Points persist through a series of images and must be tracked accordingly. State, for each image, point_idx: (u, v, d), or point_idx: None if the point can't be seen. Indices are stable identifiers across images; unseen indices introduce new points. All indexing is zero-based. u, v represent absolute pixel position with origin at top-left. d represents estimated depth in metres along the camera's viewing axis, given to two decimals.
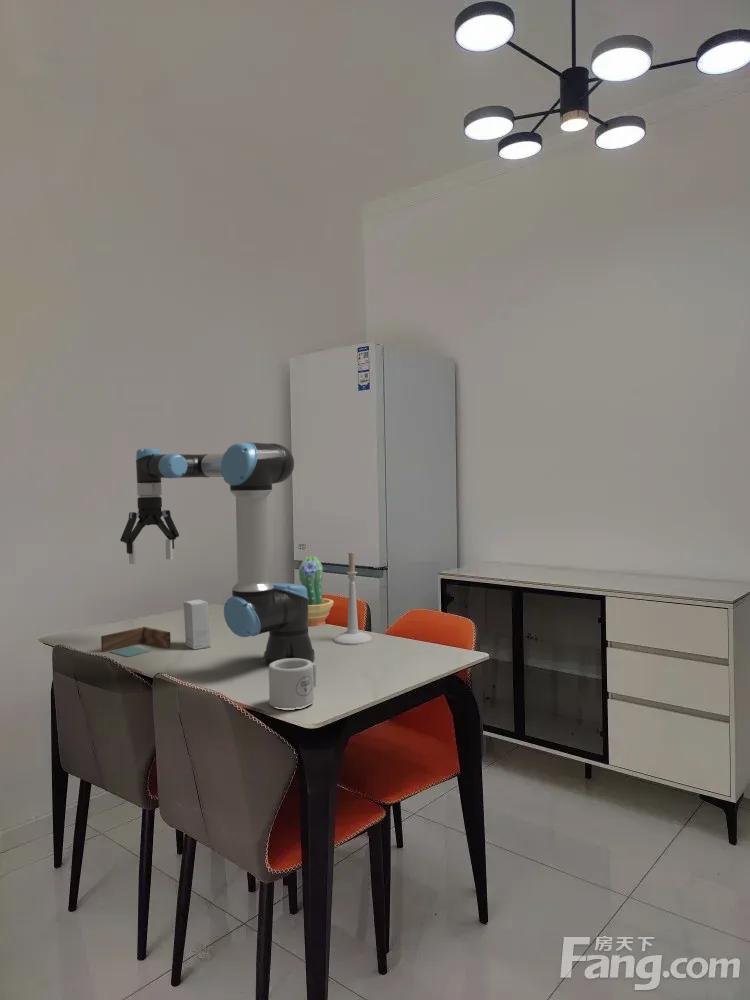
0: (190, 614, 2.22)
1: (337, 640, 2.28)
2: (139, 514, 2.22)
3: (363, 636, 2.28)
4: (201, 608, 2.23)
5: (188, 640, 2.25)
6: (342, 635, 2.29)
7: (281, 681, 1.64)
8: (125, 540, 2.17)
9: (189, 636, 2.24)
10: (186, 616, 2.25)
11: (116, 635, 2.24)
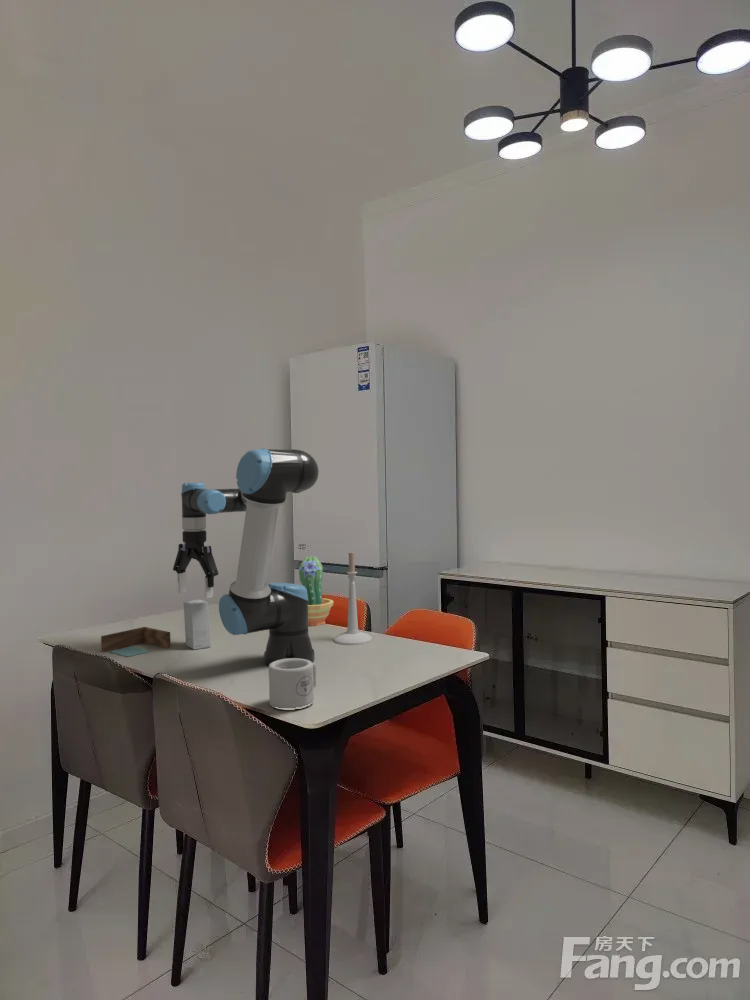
0: (190, 614, 2.22)
1: (337, 640, 2.28)
2: (184, 546, 2.27)
3: (363, 636, 2.28)
4: (201, 608, 2.23)
5: (188, 640, 2.25)
6: (342, 635, 2.29)
7: (281, 681, 1.64)
8: (173, 569, 2.30)
9: (189, 636, 2.24)
10: (186, 616, 2.25)
11: (116, 635, 2.24)
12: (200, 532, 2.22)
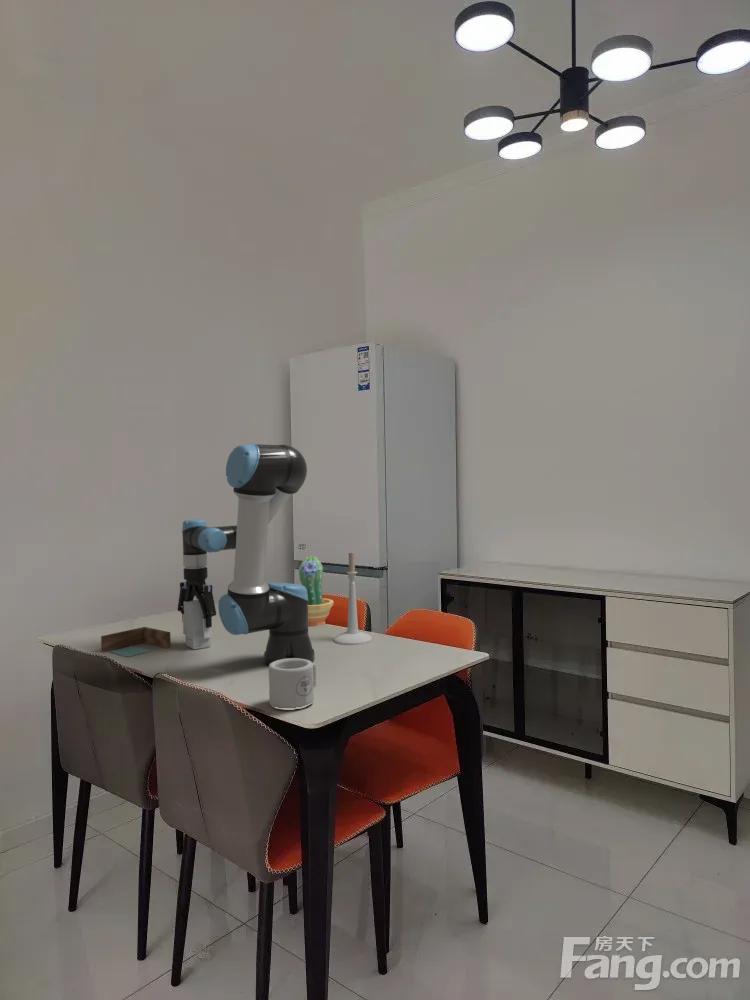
0: (190, 613, 2.22)
1: (337, 640, 2.28)
2: (186, 583, 2.27)
3: (363, 636, 2.28)
4: (201, 608, 2.23)
5: (188, 640, 2.25)
6: (342, 635, 2.29)
7: (281, 681, 1.64)
8: (178, 609, 2.30)
9: (189, 636, 2.24)
10: (186, 616, 2.25)
11: (116, 635, 2.24)
12: (201, 569, 2.23)
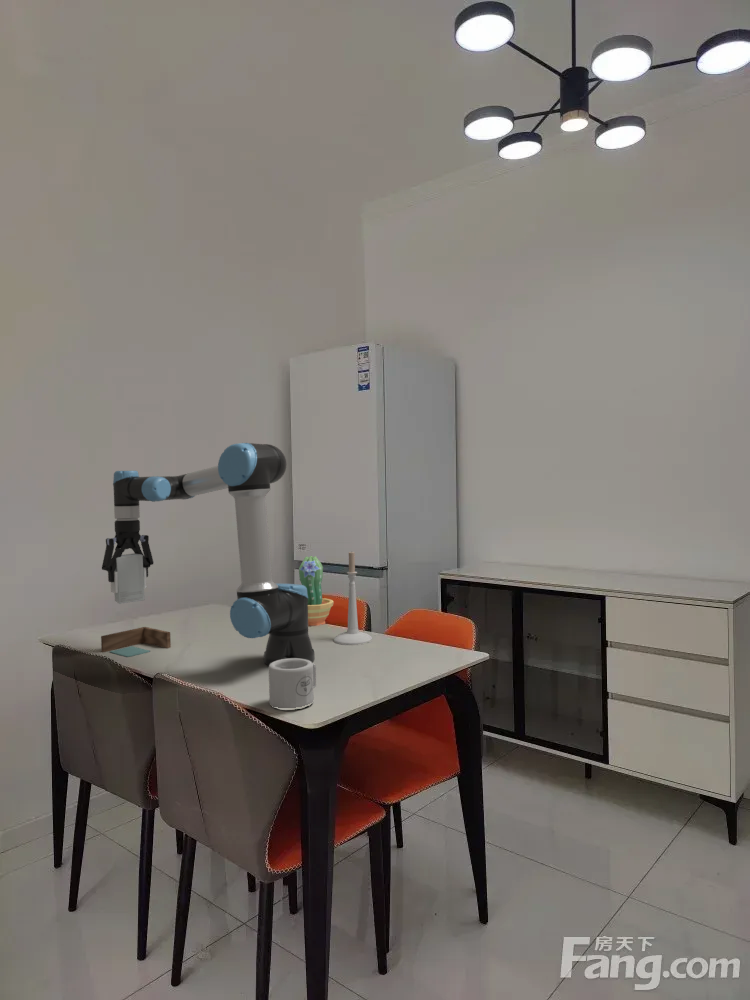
0: (140, 565, 2.18)
1: (337, 640, 2.28)
2: (116, 538, 2.15)
3: (363, 636, 2.28)
4: None
5: (130, 595, 2.17)
6: (342, 635, 2.29)
7: (281, 681, 1.64)
8: (107, 569, 2.12)
9: (134, 590, 2.18)
10: (127, 571, 2.16)
11: (116, 635, 2.24)
12: None
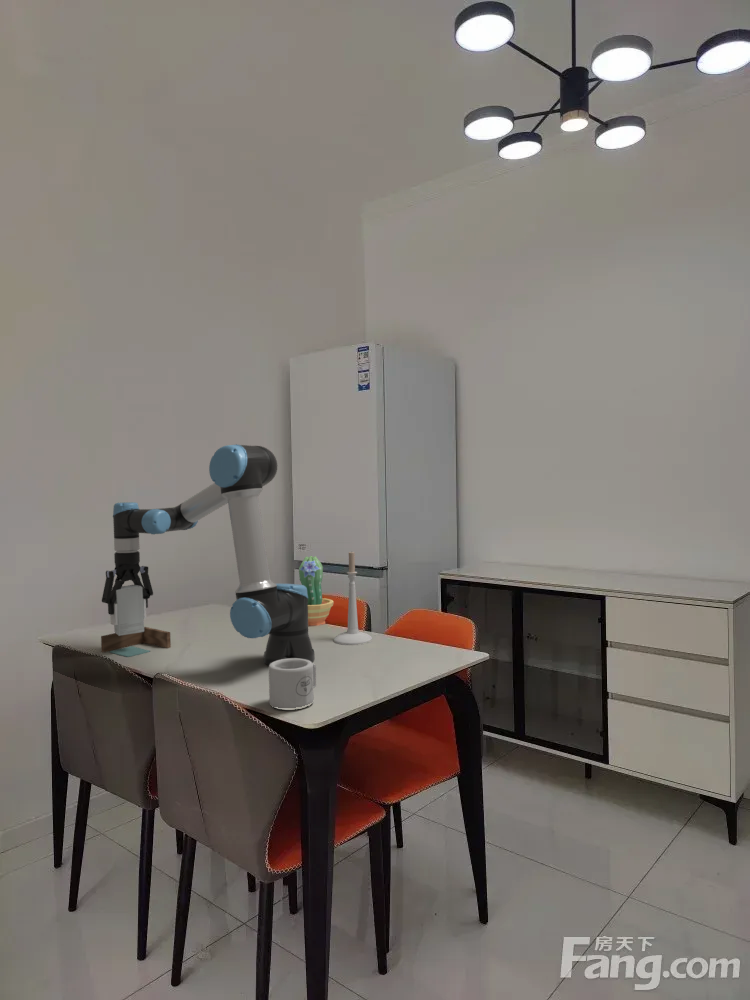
0: (139, 597, 2.19)
1: (337, 640, 2.28)
2: (116, 570, 2.15)
3: (363, 636, 2.28)
4: None
5: (130, 627, 2.17)
6: (342, 635, 2.29)
7: (281, 681, 1.64)
8: (107, 601, 2.12)
9: (134, 622, 2.18)
10: (126, 603, 2.16)
11: (116, 635, 2.24)
12: None
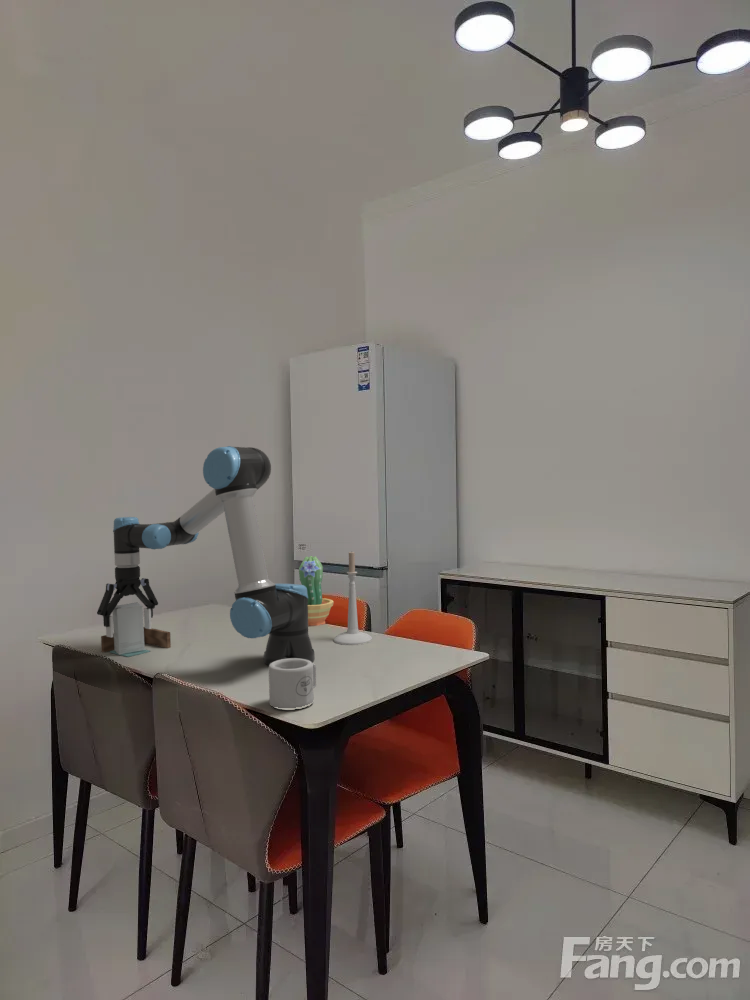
0: (140, 615, 2.19)
1: (337, 640, 2.28)
2: (116, 585, 2.15)
3: (363, 636, 2.28)
4: None
5: (131, 645, 2.17)
6: (342, 635, 2.29)
7: (281, 681, 1.64)
8: (102, 613, 2.11)
9: (134, 640, 2.18)
10: (127, 622, 2.16)
11: None
12: None
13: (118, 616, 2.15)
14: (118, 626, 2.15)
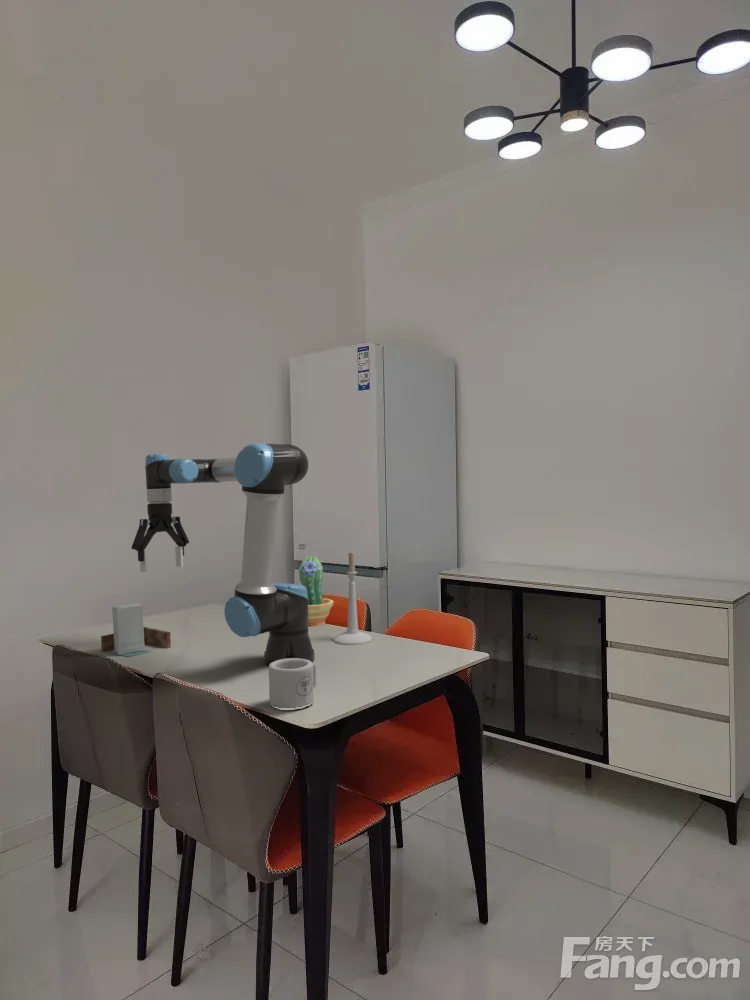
0: (140, 615, 2.19)
1: (337, 640, 2.28)
2: (150, 521, 2.17)
3: (363, 636, 2.28)
4: None
5: (131, 645, 2.17)
6: (342, 635, 2.29)
7: (281, 681, 1.64)
8: (137, 547, 2.13)
9: (134, 640, 2.18)
10: (127, 622, 2.16)
11: None
12: None
13: (118, 616, 2.15)
14: (118, 626, 2.15)
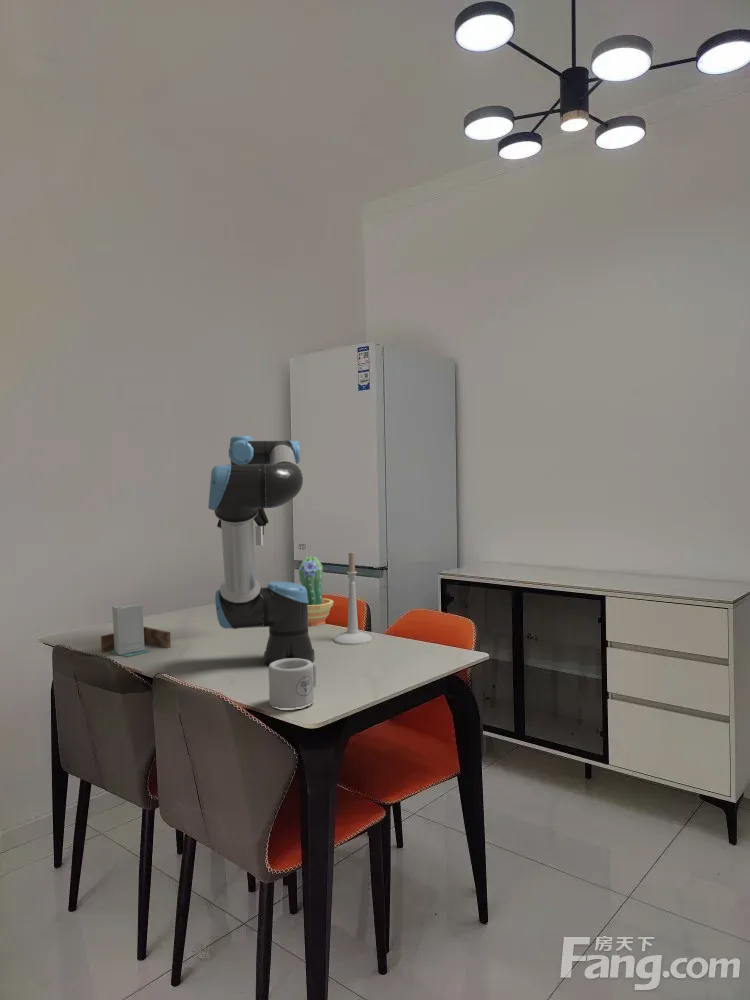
0: (140, 615, 2.19)
1: (337, 640, 2.28)
2: None
3: (363, 636, 2.28)
4: None
5: (131, 645, 2.17)
6: (342, 635, 2.29)
7: (281, 681, 1.64)
8: None
9: (134, 640, 2.18)
10: (127, 622, 2.16)
11: None
12: None
13: (118, 616, 2.15)
14: (118, 626, 2.15)
